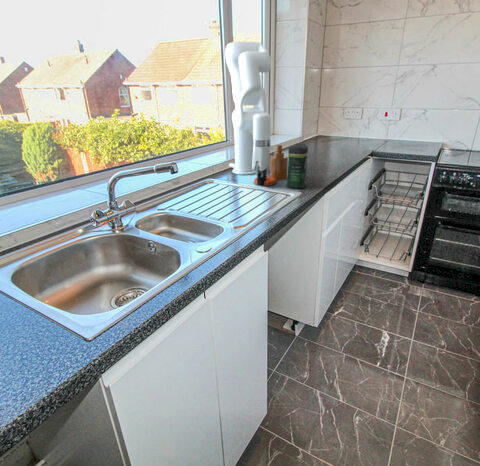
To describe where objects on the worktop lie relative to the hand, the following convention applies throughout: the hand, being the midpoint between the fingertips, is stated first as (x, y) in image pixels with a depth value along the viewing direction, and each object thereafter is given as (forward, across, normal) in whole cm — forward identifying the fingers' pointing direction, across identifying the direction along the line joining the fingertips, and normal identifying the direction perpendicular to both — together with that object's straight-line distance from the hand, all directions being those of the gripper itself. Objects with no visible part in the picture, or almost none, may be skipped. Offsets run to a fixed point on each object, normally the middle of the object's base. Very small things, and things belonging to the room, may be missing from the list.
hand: (261, 184), depth 150 cm
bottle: (0, -14, +3) cm, 14 cm away
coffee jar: (0, -4, +16) cm, 16 cm away
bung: (0, -4, 0) cm, 4 cm away
